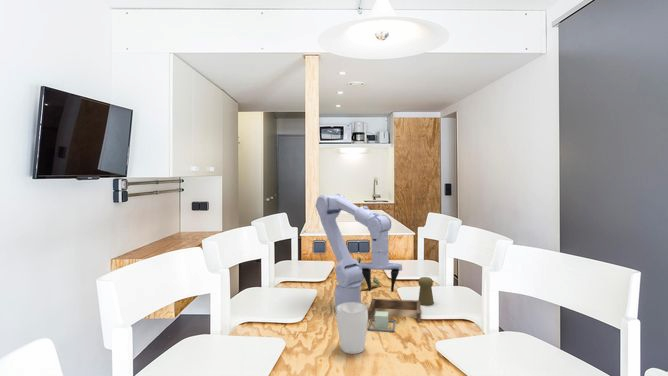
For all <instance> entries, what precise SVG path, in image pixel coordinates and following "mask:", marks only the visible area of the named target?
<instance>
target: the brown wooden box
mask: <svg viewBox="0 0 668 376" xmlns="http://www.w3.org/2000/svg"><path fill="white" fill-rule="evenodd" d="M421 309H422V305H420V301H418V300H413V299H411V300H410V299H389V298H372V299H371V301H370V304H369V307H368V308H367V314H368V320H370V319H374V316H375V313H376V311H383V312H388V316H389V317H396V318H397V317H398V318H400V317H401V318H413V319H414V318H415V319H416V323H421V322H422V321H421V313H422V312H421V311H422V310H421Z"/></svg>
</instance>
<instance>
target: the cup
mask: <svg viewBox="0 0 668 376" xmlns="http://www.w3.org/2000/svg"><path fill="white" fill-rule="evenodd" d="M335 314H336V315H335V318H336V324H337V331H338V336H339V337H338V338H339V343H340V348H341V351H342V352H343V353H346V354H351V355H355V354H359V353H362V352H364V350H365V348H366V339H367V338H366V337H367V332H368V331H367V329H368V321H369V319H368V306H367V305H366V304H365V303H362V302H361V303H357V302H347V303H342V304H340V305H338V306H337V312H336V313H335Z"/></svg>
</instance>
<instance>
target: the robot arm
mask: <svg viewBox="0 0 668 376" xmlns="http://www.w3.org/2000/svg"><path fill="white" fill-rule="evenodd" d="M315 208H316V211H317V213H318V214H317V215H318V216H319V219H320V222H321V225H322V227H323V230H324V232H325V235H326V237H327V240H328V242H329V245H330V248H331V249H332V252H333V255H334V257H335V259H336V261H337V264H336V265H335V268H334V272H335V277H336V278H335V279H336V281H337V284H336V285H335V289H334V312H336V313H337V306H338V305H340V304H342V303H347V302H357V303H362V292H361V291H362V290H361V284H362V282H364V281H365V282H367V286H368V288H367V289H368V292H371V291H372V287H371V283H372V279H371V278H372V277H371V276H372V270H376V271H377V270H378V271H379V270H381V271H390V280H391V281H390V282H391V286H390V292H391V293H393V292H394V291H395V283H396V281H397V278H398V276H399V273H400V272H402V271H403V263H397V262H396V263H395V262H390V261H389V260H390V257H389V256H390V253H389V251H390V250H389V231H390V230H391V229H392V220H391V218H390V217H389V216H388V215H386V214H381V215H379V213H378V212H377V211H375V212H374V211H373V210H371V209H369V207H368V206H367V205H364V206H357V205H356V204H354V203H353V202H352V201H350V200H349V199H347V198H345V196H344V195H341V194H339V193H335V194H325V195H323V194H321V195H319V196H318V197H317V199H316V201H315ZM341 211H344V212H346V213H347V214H349V215H352V216H354V220H355V221H356V222H358V223H359V224H361V225H363V226H364V227H366V228H367V230H368V232H369V236H370V239H371V241H370V242H371V261H370V262H360V263H358V261H359V260H357V259H355V258H353V257H352V256H351V253H350V251H349V249H348V246H347V244H346V242H345V240H344V237H343V234H342V232H341V230H340V227H339V225H338V223H337V218H338V217H339V215H340V213H341ZM364 279H365V280H364Z"/></svg>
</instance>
